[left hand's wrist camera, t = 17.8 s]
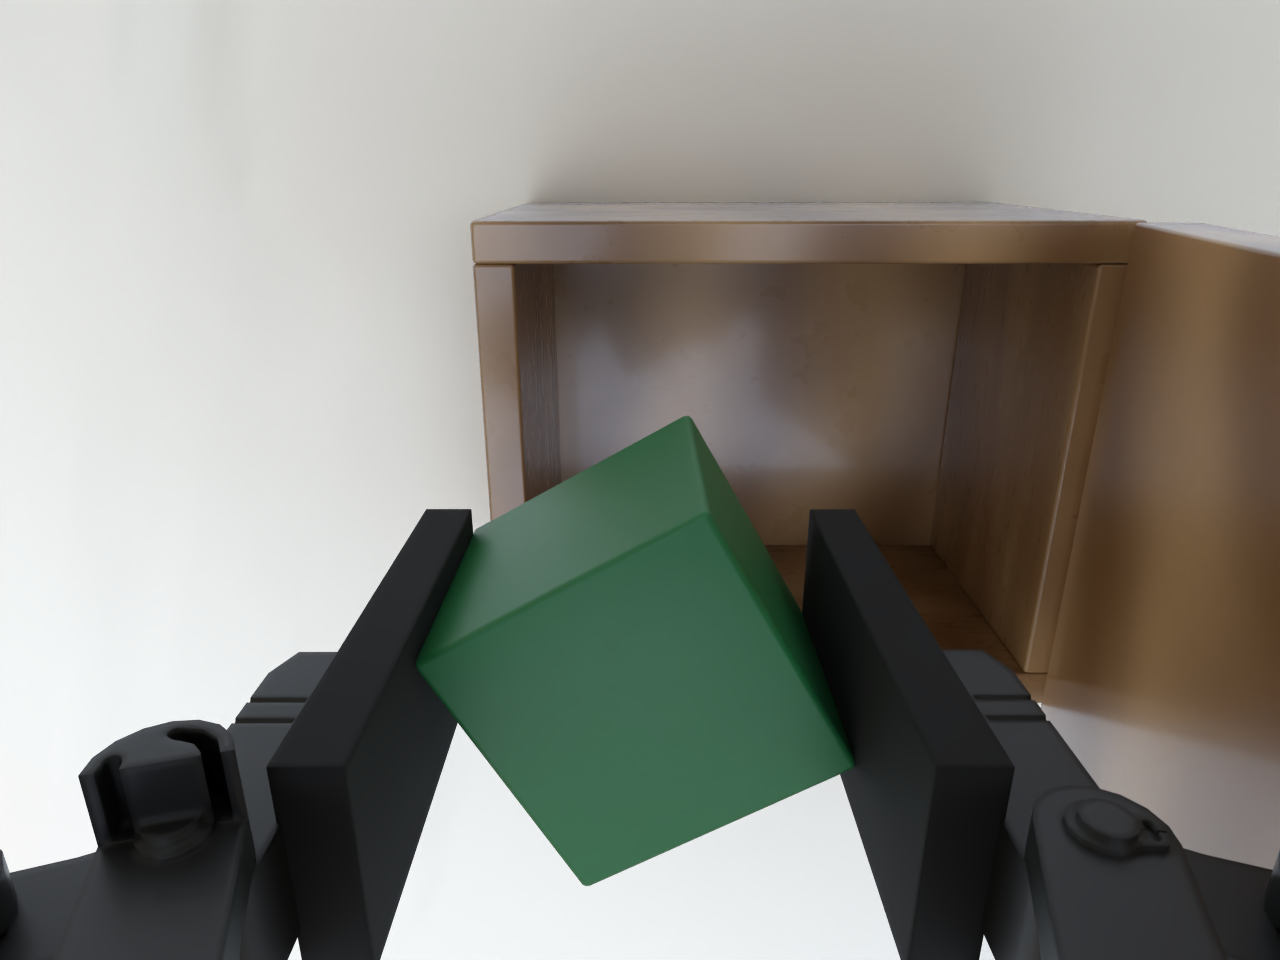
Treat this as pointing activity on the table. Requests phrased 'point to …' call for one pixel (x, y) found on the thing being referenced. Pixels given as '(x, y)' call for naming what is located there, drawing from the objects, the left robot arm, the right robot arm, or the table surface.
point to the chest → (824, 377)
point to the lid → (1183, 548)
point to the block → (634, 659)
